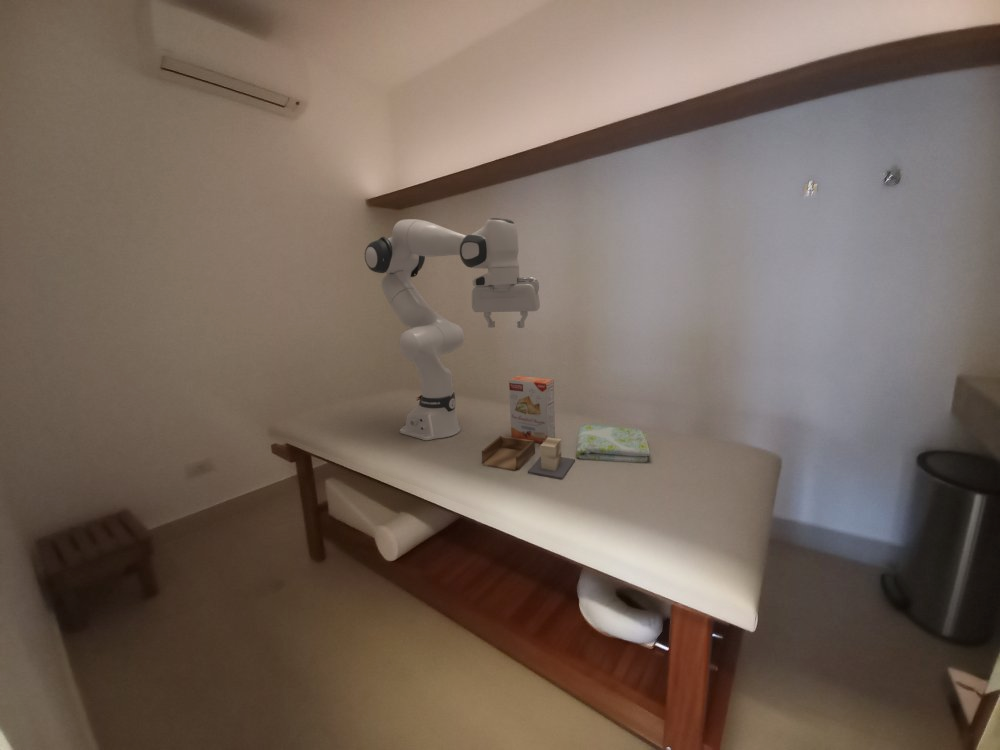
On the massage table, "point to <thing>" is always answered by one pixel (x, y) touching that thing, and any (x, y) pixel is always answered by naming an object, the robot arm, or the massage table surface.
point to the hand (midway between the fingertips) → (506, 327)
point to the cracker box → (532, 408)
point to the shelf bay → (508, 453)
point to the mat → (557, 474)
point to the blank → (551, 454)
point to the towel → (612, 444)
